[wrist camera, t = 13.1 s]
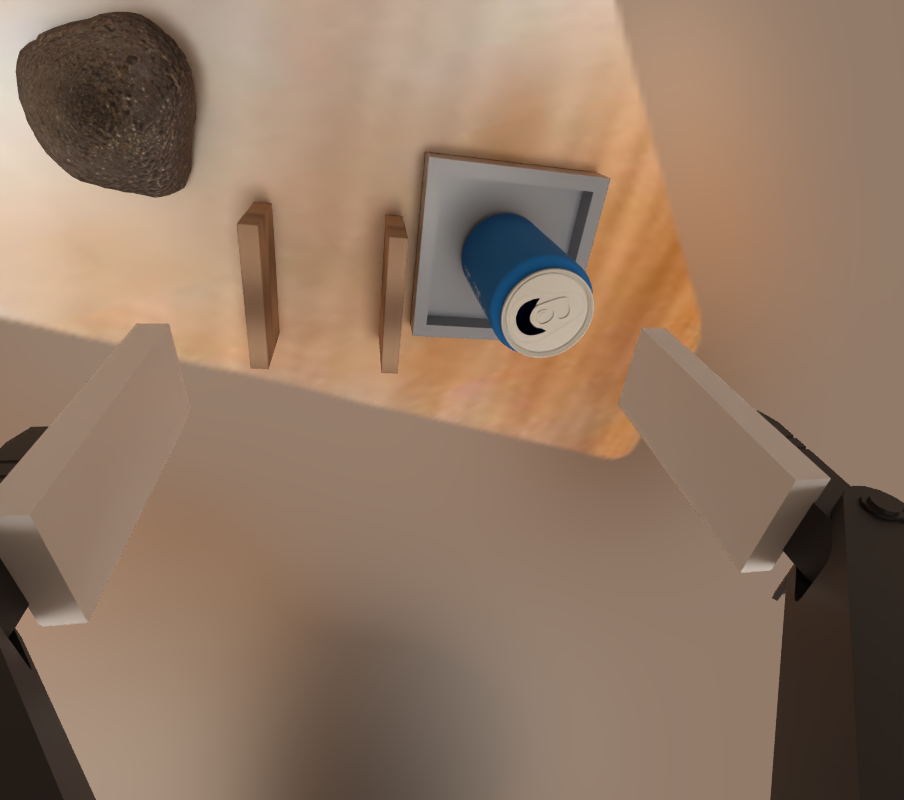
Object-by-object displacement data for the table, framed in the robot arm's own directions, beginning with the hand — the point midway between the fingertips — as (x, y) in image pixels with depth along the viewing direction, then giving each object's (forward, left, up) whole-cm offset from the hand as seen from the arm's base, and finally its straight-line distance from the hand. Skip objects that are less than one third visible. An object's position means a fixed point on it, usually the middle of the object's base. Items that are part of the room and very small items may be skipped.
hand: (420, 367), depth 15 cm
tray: (+4, +9, -26) cm, 28 cm away
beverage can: (+4, +9, -26) cm, 28 cm away
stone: (-4, -19, -28) cm, 34 cm away
